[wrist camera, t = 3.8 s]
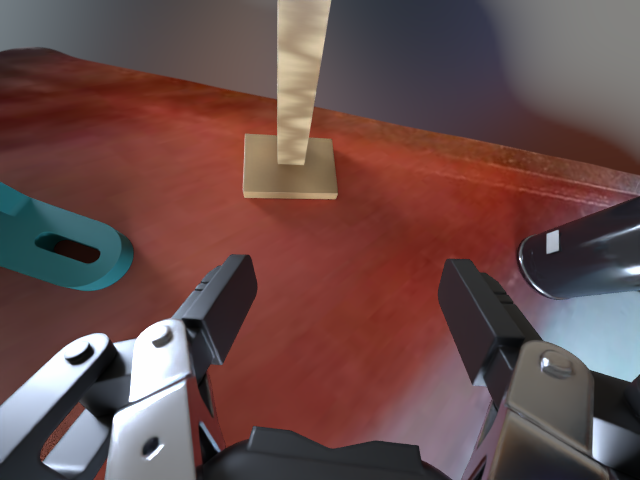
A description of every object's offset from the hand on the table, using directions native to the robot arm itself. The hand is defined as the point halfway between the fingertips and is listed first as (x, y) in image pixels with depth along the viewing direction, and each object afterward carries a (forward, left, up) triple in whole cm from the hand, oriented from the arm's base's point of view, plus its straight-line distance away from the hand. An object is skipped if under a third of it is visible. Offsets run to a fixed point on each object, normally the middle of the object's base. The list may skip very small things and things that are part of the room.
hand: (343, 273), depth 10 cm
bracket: (+27, -9, -19) cm, 34 cm away
